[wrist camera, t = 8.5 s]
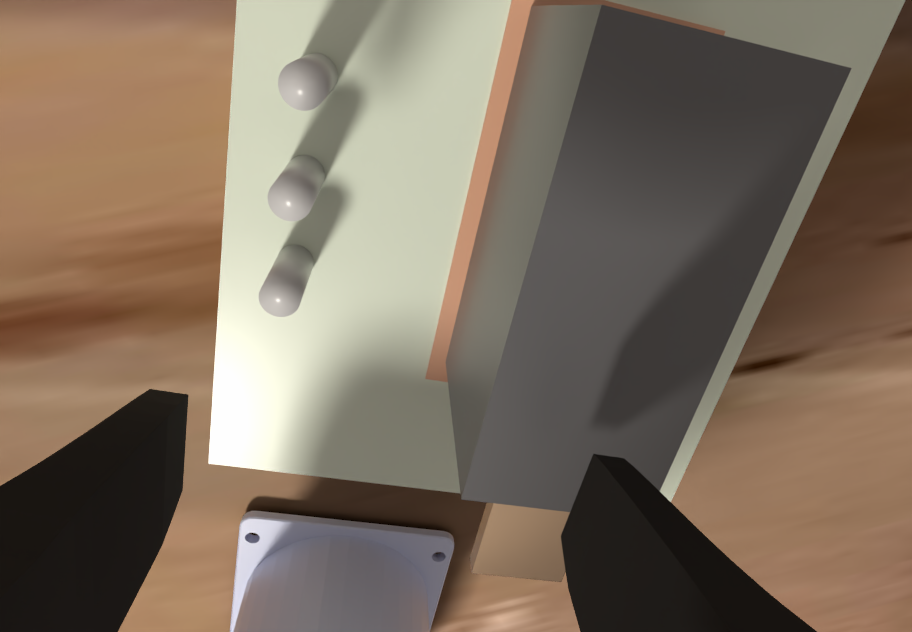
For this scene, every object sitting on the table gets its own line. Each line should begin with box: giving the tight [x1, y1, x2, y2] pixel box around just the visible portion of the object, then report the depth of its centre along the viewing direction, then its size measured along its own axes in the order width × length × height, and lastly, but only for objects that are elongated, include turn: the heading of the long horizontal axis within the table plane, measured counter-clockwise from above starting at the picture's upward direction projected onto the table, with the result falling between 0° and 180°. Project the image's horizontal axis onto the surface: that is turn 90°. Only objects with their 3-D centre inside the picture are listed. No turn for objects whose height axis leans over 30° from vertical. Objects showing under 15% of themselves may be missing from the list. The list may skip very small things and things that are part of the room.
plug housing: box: [446, 5, 852, 582], centre depth 15 cm, size 13×4×6 cm, turn 168°
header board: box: [209, 0, 905, 502], centre depth 17 cm, size 18×16×4 cm
